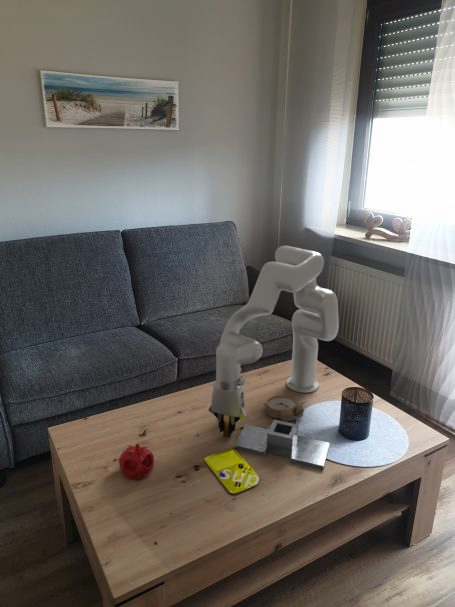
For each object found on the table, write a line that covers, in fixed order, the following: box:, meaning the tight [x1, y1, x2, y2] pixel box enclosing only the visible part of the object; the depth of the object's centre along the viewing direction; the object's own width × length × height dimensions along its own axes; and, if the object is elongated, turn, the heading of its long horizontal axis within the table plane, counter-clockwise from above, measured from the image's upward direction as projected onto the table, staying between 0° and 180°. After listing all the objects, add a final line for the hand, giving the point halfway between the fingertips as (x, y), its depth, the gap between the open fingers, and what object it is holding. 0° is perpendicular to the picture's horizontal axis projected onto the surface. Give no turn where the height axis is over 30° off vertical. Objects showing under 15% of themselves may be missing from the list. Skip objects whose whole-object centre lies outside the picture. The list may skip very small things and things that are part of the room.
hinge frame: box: [233, 419, 330, 471], centre depth 151 cm, size 12×28×7 cm, turn 70°
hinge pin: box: [222, 414, 232, 439], centre depth 157 cm, size 3×3×10 cm
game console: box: [204, 448, 260, 496], centre depth 142 cm, size 18×11×2 cm, turn 30°
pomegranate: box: [118, 441, 155, 480], centre depth 139 cm, size 10×10×9 cm
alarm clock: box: [262, 395, 305, 423], centre depth 171 cm, size 11×5×15 cm
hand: (226, 430), depth 158 cm, fingers closed on hinge pin, 2 cm apart
